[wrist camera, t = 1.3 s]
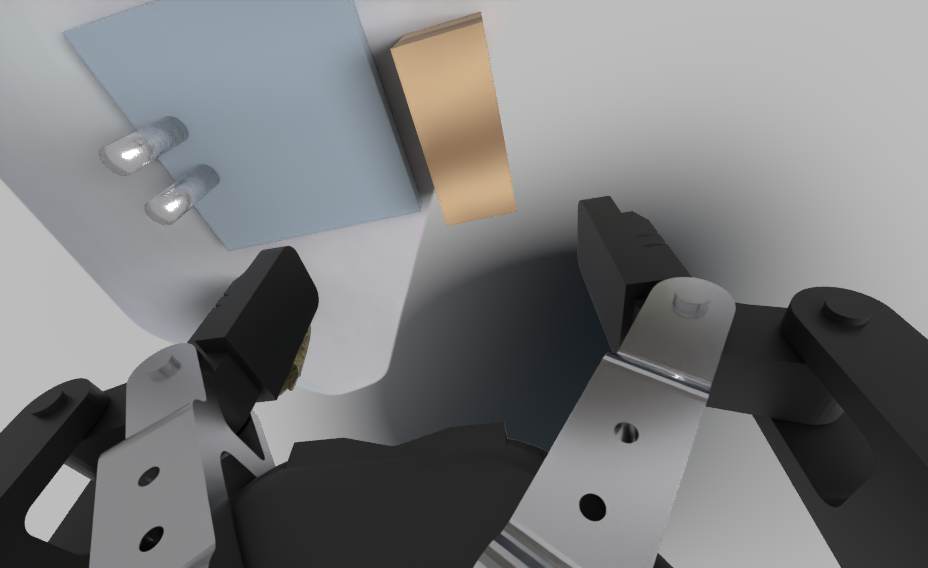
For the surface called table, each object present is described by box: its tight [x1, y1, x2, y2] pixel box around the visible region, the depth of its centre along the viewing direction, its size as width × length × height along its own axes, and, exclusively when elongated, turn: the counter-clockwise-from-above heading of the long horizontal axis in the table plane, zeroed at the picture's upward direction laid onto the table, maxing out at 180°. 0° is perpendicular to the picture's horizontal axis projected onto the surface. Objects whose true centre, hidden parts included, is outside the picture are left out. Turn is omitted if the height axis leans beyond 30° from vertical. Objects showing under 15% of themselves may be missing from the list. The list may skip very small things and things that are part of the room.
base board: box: [63, 0, 422, 251], centre depth 25 cm, size 16×15×1 cm
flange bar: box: [390, 12, 517, 226], centre depth 23 cm, size 10×4×5 cm, turn 14°
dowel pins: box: [99, 116, 220, 225], centre depth 23 cm, size 2×5×5 cm, turn 14°
